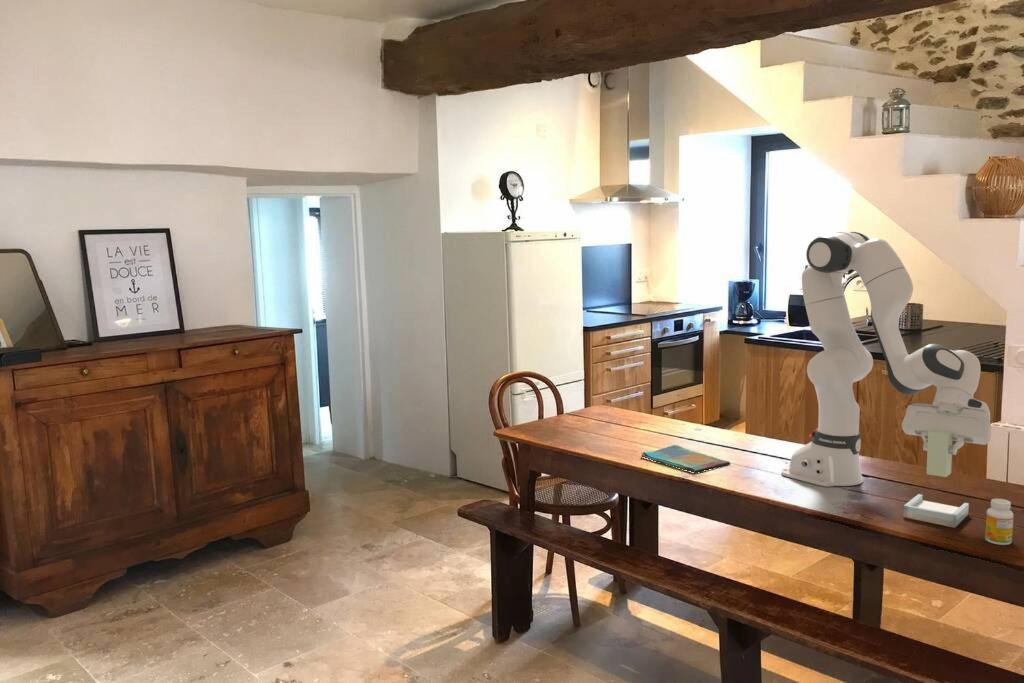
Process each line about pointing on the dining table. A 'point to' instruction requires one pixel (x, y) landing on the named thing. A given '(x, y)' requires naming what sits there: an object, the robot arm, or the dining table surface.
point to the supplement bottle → (999, 522)
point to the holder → (935, 512)
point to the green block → (939, 452)
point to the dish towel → (685, 459)
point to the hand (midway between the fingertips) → (939, 451)
